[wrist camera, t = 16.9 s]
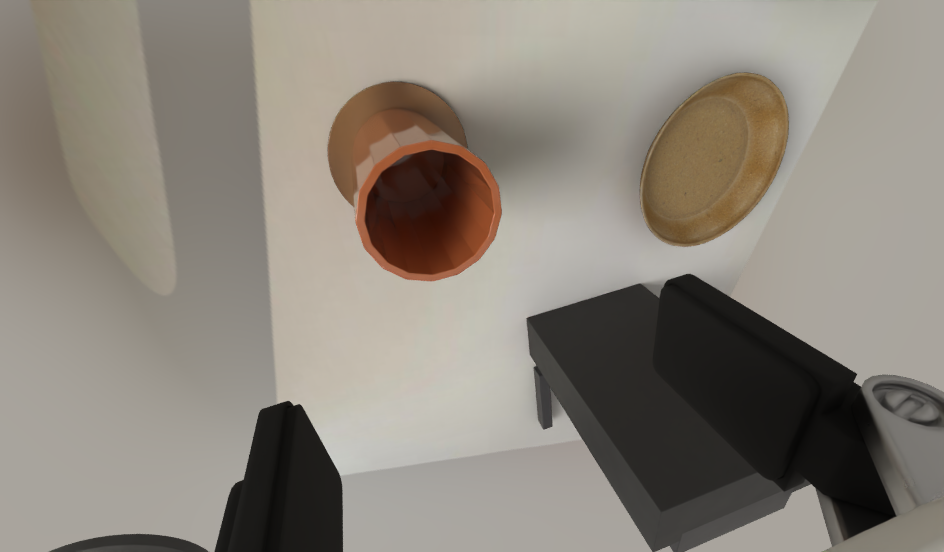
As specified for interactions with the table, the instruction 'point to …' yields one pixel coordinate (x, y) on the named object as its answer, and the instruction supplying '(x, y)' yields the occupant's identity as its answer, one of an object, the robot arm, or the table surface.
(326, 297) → the table surface
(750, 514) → the black box with legs
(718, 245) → the table surface
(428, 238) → the orange tube
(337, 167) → the coaster
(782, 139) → the plant saucer
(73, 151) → the table surface
